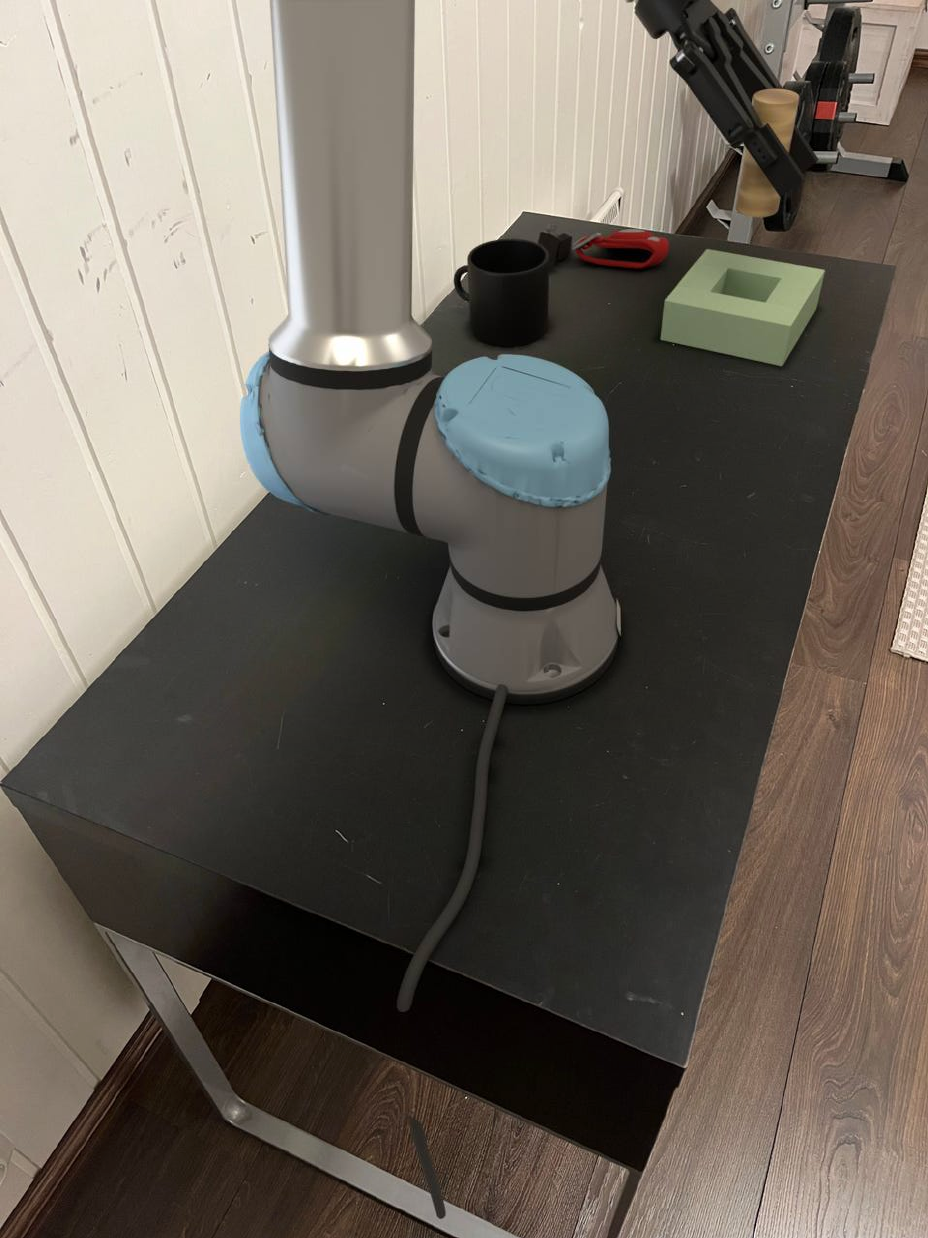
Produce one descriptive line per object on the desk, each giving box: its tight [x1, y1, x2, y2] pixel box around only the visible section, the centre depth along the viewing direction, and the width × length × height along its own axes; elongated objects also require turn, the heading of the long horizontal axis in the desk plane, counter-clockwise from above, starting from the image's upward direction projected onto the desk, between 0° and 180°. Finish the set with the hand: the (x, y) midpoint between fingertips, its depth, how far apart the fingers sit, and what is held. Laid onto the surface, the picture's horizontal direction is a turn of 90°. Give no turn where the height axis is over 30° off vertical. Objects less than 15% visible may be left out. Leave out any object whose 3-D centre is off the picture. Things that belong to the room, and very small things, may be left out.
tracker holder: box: [571, 228, 670, 270], centre depth 124 cm, size 12×4×10 cm
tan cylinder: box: [735, 88, 800, 218], centre depth 96 cm, size 4×4×11 cm
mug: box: [453, 238, 550, 347], centre depth 112 cm, size 9×12×9 cm
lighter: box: [537, 223, 573, 271], centre depth 124 cm, size 8×2×5 cm
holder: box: [660, 248, 826, 367], centre depth 111 cm, size 14×14×5 cm
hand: (799, 177), depth 96 cm, fingers closed on tan cylinder, 4 cm apart
